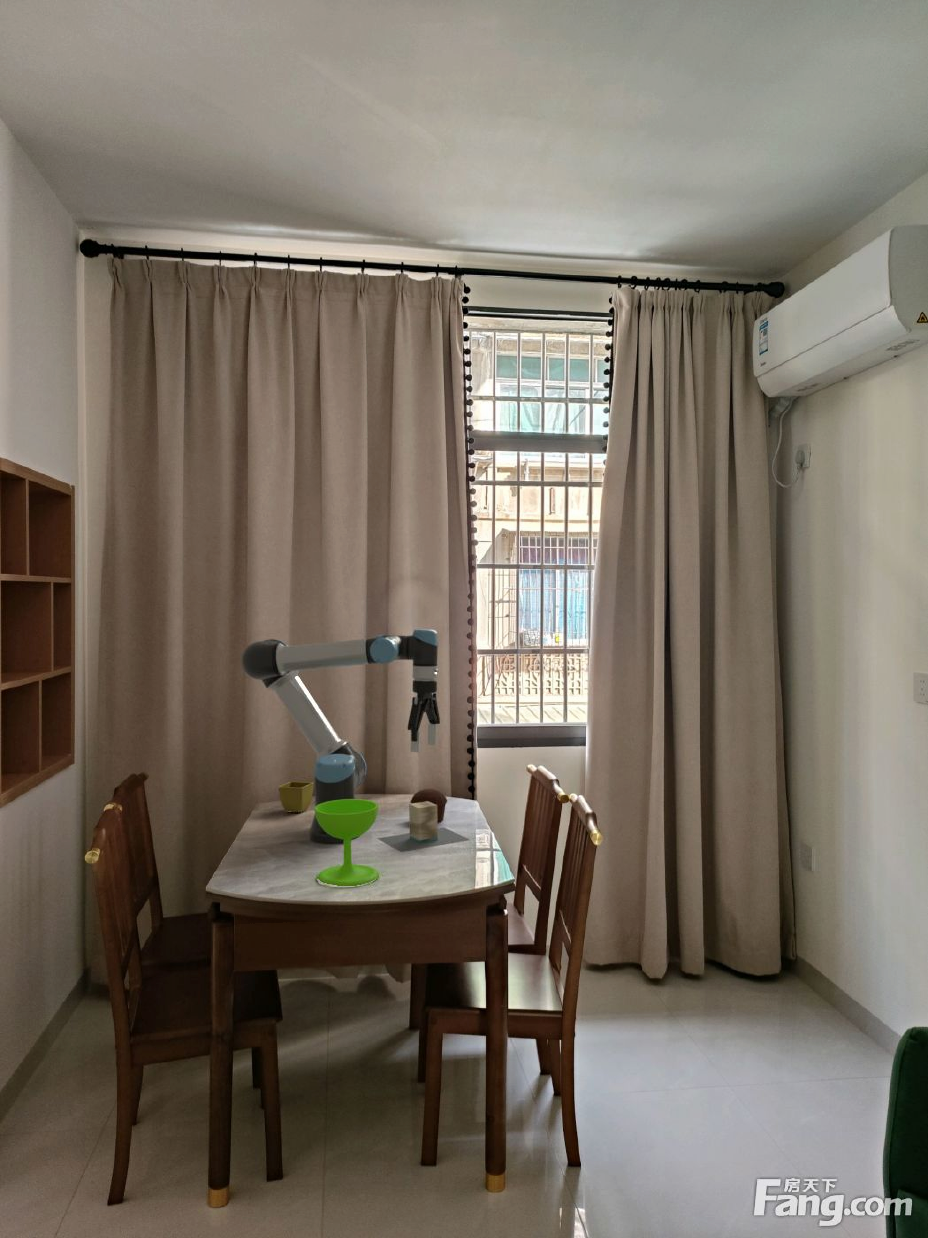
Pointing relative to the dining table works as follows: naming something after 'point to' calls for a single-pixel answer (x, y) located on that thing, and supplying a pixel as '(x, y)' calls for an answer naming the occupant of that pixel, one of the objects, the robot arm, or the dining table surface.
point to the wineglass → (347, 838)
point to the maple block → (423, 822)
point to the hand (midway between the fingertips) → (423, 748)
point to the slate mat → (407, 844)
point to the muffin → (432, 800)
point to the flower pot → (296, 796)
